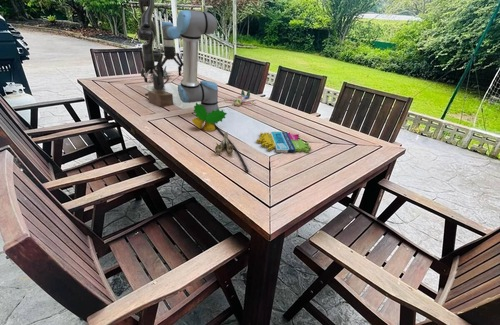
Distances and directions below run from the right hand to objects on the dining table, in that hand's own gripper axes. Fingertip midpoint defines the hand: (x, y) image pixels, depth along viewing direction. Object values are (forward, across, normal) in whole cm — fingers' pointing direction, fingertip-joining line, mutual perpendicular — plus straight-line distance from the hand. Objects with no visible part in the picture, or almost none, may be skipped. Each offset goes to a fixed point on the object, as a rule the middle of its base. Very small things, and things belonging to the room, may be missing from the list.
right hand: (171, 75), depth 201 cm
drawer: (+19, +12, -3) cm, 22 cm away
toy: (+20, -50, +25) cm, 59 cm away
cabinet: (+20, +11, +2) cm, 22 cm away
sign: (+20, -24, +104) cm, 109 cm away
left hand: (+5, +13, -8) cm, 16 cm away
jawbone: (+20, +11, +97) cm, 99 cm away
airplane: (+20, -17, -79) cm, 83 cm away
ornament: (+20, +3, +65) cm, 68 cm away
